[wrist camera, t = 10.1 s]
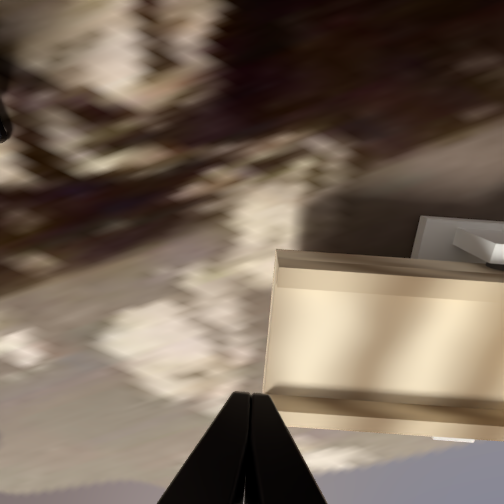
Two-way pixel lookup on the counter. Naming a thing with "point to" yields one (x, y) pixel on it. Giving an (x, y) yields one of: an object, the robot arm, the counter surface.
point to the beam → (387, 345)
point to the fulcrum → (459, 246)
